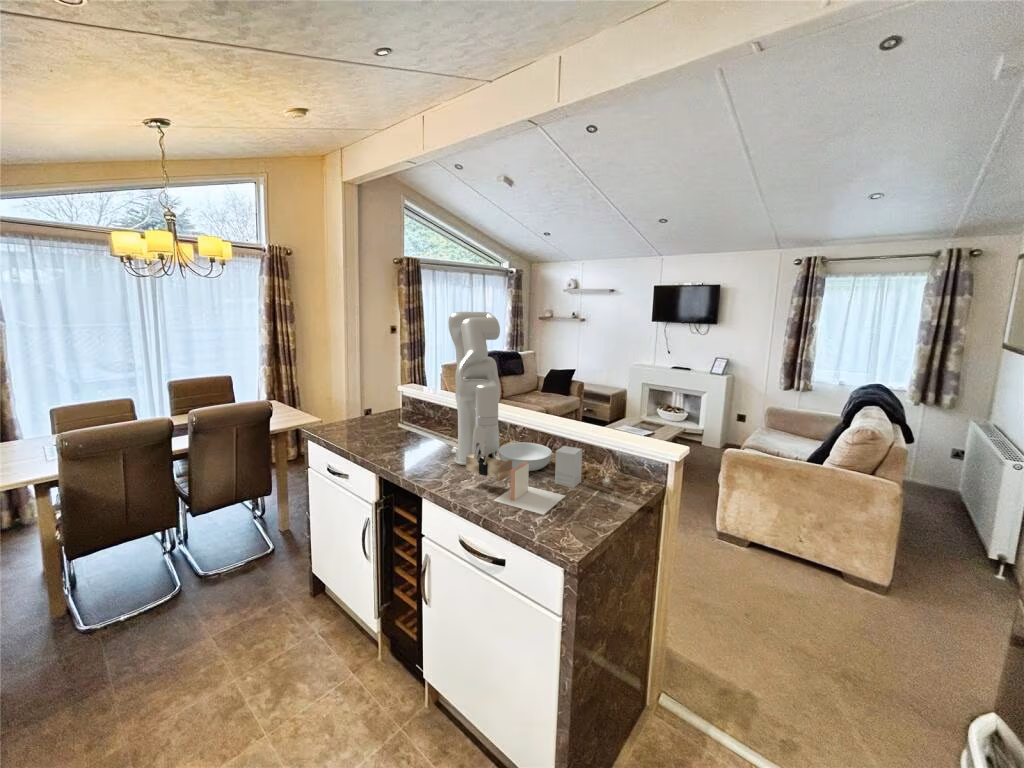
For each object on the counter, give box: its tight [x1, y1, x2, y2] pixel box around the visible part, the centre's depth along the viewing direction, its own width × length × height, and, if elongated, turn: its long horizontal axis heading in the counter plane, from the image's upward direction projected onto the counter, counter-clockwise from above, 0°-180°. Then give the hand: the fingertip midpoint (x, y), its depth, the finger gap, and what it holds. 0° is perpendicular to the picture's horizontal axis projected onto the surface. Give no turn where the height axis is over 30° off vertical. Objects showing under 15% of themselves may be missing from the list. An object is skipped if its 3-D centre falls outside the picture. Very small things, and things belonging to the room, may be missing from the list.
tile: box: [510, 462, 530, 501], centre depth 143 cm, size 2×9×10 cm, turn 149°
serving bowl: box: [497, 441, 553, 472], centre depth 171 cm, size 21×21×7 cm
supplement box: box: [554, 445, 583, 489], centre depth 155 cm, size 7×7×13 cm
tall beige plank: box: [465, 454, 512, 482], centre depth 149 cm, size 15×8×5 cm, turn 59°
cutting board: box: [492, 485, 566, 516], centre depth 142 cm, size 18×16×1 cm
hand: (486, 472), depth 149 cm, fingers closed on tall beige plank, 3 cm apart
